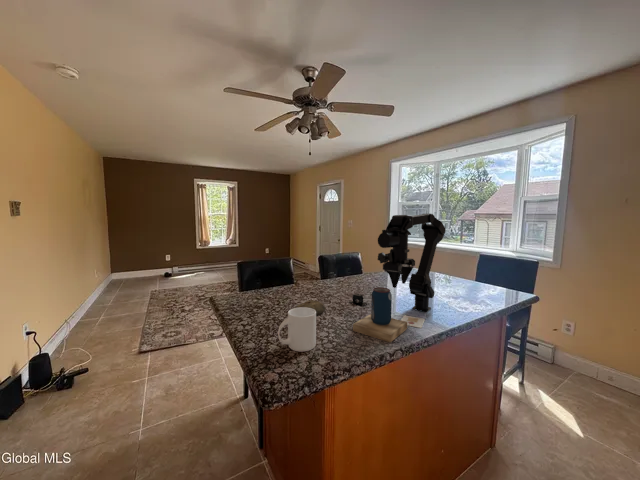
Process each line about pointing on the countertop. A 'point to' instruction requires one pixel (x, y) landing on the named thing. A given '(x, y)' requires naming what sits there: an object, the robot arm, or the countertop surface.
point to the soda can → (381, 306)
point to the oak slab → (380, 328)
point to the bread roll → (313, 306)
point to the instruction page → (413, 321)
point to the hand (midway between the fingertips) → (399, 285)
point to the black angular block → (359, 297)
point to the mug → (300, 329)
